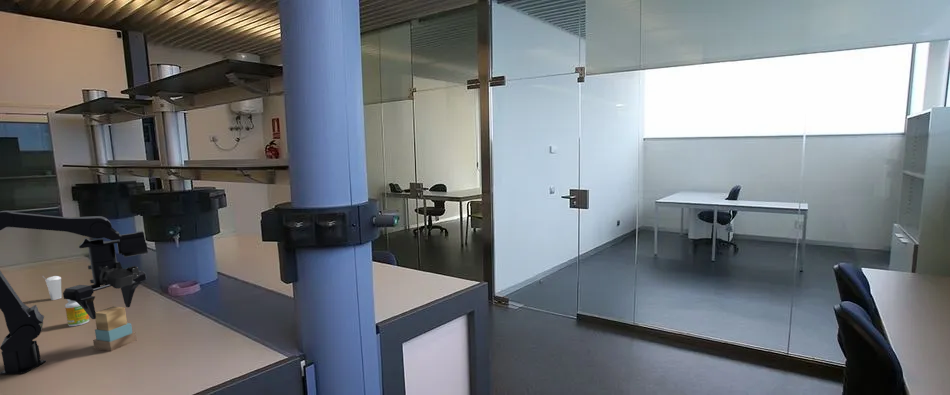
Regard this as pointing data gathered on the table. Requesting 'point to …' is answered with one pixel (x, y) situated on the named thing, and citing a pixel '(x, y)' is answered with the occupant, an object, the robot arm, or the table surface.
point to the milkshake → (54, 287)
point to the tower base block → (114, 342)
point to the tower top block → (113, 333)
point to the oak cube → (110, 318)
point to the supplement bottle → (75, 314)
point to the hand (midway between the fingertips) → (111, 312)
